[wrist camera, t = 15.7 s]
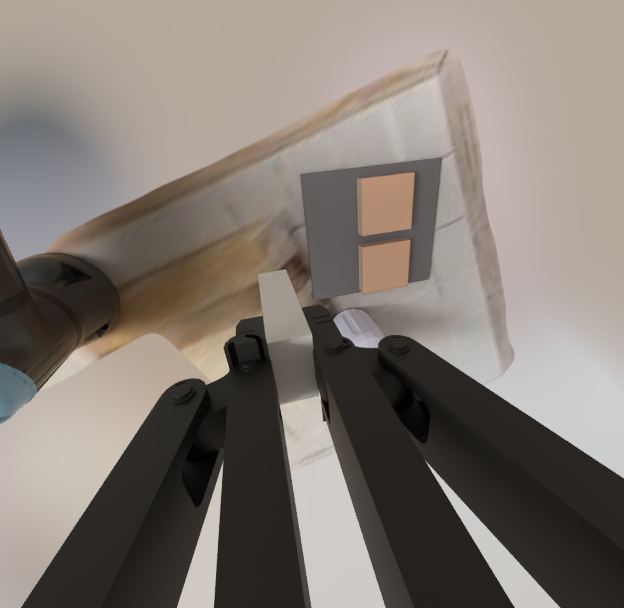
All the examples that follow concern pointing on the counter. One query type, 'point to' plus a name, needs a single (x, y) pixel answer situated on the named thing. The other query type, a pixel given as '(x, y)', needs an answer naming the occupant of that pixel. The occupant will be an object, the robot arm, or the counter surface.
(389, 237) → the mat
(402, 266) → the tile
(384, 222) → the tile
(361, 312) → the soap bottle
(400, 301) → the counter surface
